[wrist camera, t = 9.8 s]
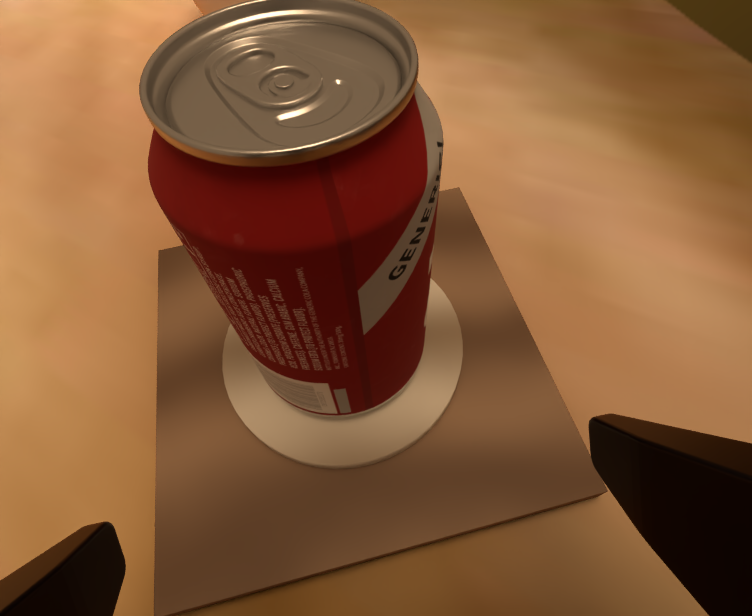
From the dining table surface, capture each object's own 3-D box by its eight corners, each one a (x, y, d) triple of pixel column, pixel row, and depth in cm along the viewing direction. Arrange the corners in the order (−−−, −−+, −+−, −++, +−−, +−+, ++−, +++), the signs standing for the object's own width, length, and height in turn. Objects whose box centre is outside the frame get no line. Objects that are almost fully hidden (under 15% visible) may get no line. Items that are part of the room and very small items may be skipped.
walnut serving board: (597, 496, 17) (616, 486, 16) (166, 617, 16) (142, 619, 14) (457, 200, 26) (460, 176, 24) (167, 262, 24) (151, 240, 23)
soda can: (339, 461, 17) (247, 247, 7) (228, 348, 19) (42, 72, 9) (457, 340, 19) (522, 47, 9) (344, 254, 22) (296, -46, 12)
